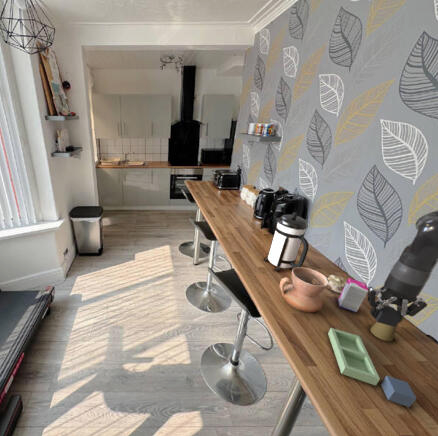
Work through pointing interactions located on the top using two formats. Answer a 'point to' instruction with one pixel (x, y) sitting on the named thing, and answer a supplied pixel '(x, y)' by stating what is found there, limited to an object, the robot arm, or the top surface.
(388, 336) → the cork
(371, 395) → the top surface
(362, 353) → the frame
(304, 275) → the ceramic jug
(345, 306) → the supplement box
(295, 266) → the coffee press
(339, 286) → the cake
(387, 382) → the blue block
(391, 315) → the dark grey block
